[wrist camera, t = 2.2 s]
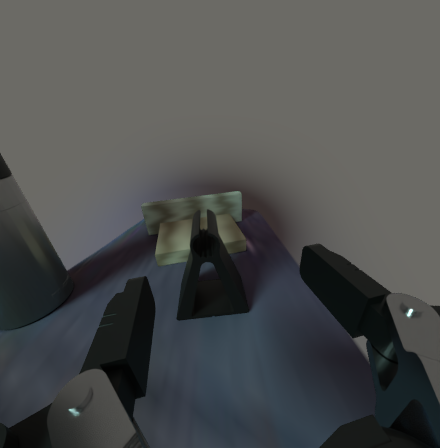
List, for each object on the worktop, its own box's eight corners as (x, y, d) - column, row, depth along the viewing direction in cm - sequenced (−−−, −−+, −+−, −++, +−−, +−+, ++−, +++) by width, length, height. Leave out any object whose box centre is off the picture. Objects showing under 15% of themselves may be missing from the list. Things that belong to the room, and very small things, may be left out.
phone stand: (240, 278, 29) (239, 206, 23) (249, 313, 23) (250, 229, 18) (182, 284, 28) (166, 212, 23) (176, 320, 23) (155, 237, 18)
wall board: (140, 269, 32) (128, 234, 29) (150, 231, 44) (142, 203, 41) (261, 248, 36) (262, 214, 32) (239, 217, 48) (239, 191, 45)
